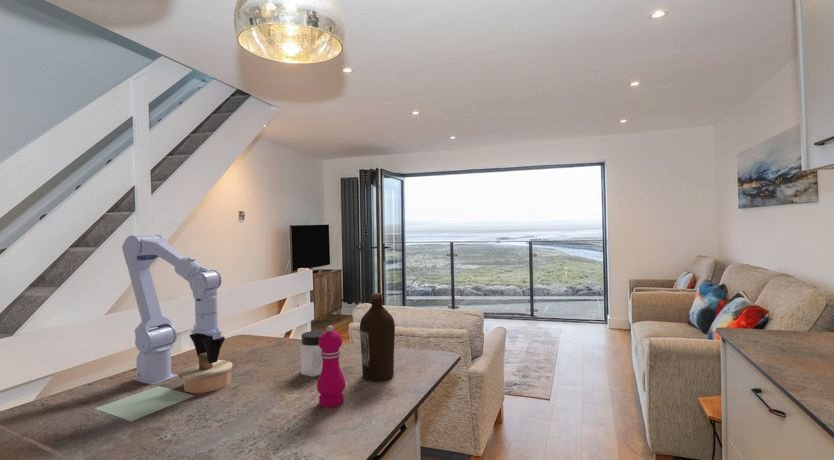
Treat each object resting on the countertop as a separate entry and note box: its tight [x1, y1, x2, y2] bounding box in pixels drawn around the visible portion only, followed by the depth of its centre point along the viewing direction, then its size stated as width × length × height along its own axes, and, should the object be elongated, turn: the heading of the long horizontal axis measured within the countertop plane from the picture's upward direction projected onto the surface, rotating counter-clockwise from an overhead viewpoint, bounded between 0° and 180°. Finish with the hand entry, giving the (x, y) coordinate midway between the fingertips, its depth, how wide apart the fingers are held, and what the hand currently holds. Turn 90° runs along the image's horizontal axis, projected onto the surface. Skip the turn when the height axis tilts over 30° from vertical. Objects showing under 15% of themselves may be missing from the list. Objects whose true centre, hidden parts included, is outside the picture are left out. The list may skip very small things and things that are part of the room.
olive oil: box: [359, 292, 396, 382], centre depth 125 cm, size 11×11×25 cm
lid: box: [177, 353, 233, 380], centre depth 119 cm, size 14×14×5 cm
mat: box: [94, 385, 195, 422], centre depth 108 cm, size 16×16×1 cm
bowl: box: [183, 369, 232, 394], centre depth 119 cm, size 12×12×4 cm
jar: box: [300, 330, 326, 378], centre depth 129 cm, size 9×8×12 cm
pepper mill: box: [316, 324, 346, 408], centre depth 107 cm, size 7×7×20 cm
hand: (207, 359), depth 119 cm, fingers open, 7 cm apart
